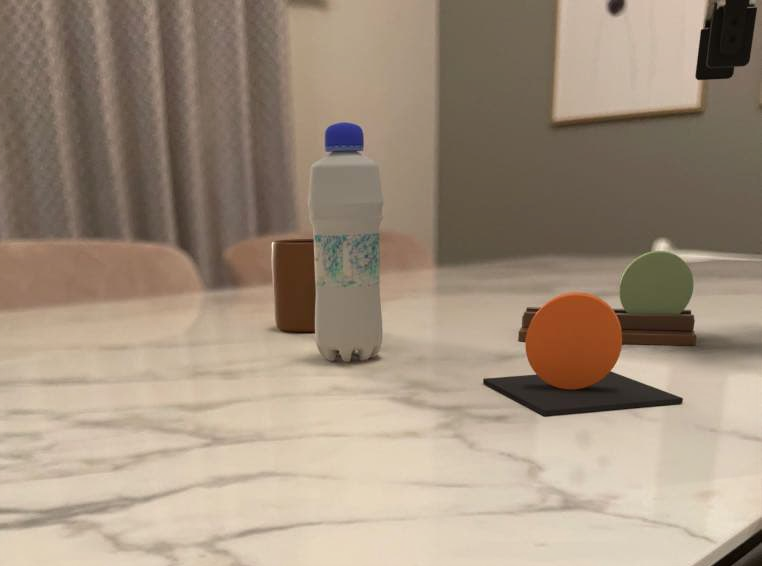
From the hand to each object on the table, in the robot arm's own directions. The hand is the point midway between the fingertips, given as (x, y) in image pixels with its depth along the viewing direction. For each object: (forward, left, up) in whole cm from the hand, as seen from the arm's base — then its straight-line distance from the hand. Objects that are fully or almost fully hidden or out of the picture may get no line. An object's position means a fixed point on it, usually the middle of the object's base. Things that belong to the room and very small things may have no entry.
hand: (720, 73), depth 73 cm
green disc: (0, -6, -22) cm, 23 cm away
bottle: (+32, -6, -24) cm, 40 cm away
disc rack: (+4, -8, -23) cm, 25 cm away
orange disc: (+19, +14, -23) cm, 33 cm away
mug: (+30, -24, -24) cm, 45 cm away
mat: (+19, +14, -23) cm, 33 cm away
